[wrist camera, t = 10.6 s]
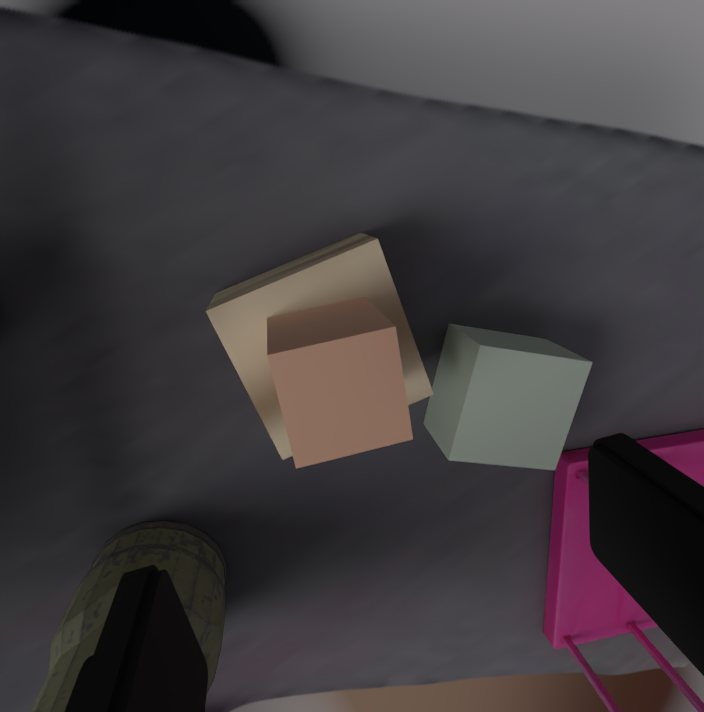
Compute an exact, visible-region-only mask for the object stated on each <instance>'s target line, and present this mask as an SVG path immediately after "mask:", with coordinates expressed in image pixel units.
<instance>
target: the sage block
mask: <svg viewBox="0 0 704 712" xmlns="http://www.w3.org/2000/svg"><path fill="white" fill-rule="evenodd" d="M592 363H593V362H591V361H589V360H587V359H585V358H583V357H581V356H579V355H577V354H575V353H573V352H571V351H569V350H567V349H565V348H563V347H561V346H559V345H557V344H555V343H553V342H551V341H549V340H547V339H543V338H537V337H531V336H524V335H518V334H512V333H505V332H499V331H493V330H487V329H480V328H474V327H468V326H461V325H455V324H448V328H447V332H446V336H445V340H444V344H443V348H442V352H441V356H440V360H439V364H438V368H437V371H436V375H435V379H434V383H433V387H432V391H433V395H431V396H430V399H429V403H428V407H427V411H426V415H425V419H424V423H423V424H424V426H425V427H426V428H427V430H428V431H429V433H430V434H431V436H432V437H433V439H434V440H435V442H436V443H437V444H438V446H439V447H440V449H441V450H442V452H443V453H444V455H445V456H446V458H447V459H448V460H450V461H461V462H471V463H482V464H492V465H503V466H514V467H524V468H535V469H545V470H555V469H556V467H557V464H558V461H559V458H560V455H561V452H562V449H563V446H564V443H565V441H566V438H567V435H568V432H569V429H570V426H571V423H572V420H573V418H574V415H575V412H576V409H577V406H578V403H579V400H580V397H581V395H582V392H583V389H584V386H585V383H586V380H587V377H588V374H589V372H590V369H591V366H592Z"/></svg>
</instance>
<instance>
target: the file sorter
mask: <svg viewBox="0 0 704 712" xmlns="http://www.w3.org/2000/svg"><path fill="white" fill-rule="evenodd" d="M636 442H638V443H639V444H641V445H642V446H644V447H645V448H647V449H648V450H650V451H651V452H653V453H654V454H656V455H657V456H659V457H660V458H661V459H663V460H664V461H666V462H667V463H669V464H670V465H672V466H673V467H675V468H676V469H678V470H679V471H681V472H682V473H684V474H685V475H687V476H688V477H690V478H691V479H693V480H694V481H696V482H697V483H699V484H700V485H702V486H703V487H704V429H703V430H697V431H691V432H685V433H679V434H673V435H666V436H660V437H654V438H648V439H642V440H636ZM592 448H593V447H592ZM589 449H591V448H585V449H579V450H572V451H566V452H561V455H560V458H559V461H558V464H557V467H556V469H555V476H554V491H553V506H552V519H551V533H550V547H549V561H548V573H547V586H546V602H545V614H544V627H543V633H544V634H545V636H546V637H547V639H548V640H549V642H550V643H551V645H552V646H553V648H554V649H559V648H564V647H567V649H568V650H569V652H570V653H571V654H572V656H573V657H574V659H575V660H576V662H577V663H578V665H579V666H580V668H581V669H582V671H583V672H584V674H585V675H586V677H587V678H588V679H589V681H590V682H591V684H592V686H593V687H594V689H595V690H596V692H597V693H598V694H599V696H600V698H601V699H602V701H603V702H604V704H605V705H606V706H607V708H608V710H609V711H610V712H621V710H620V709H619V707H618V706H617V704H616V703H615V701H614V700H613V699H612V697H611V696H610V694H609V693H608V691H607V690H606V688H605V687H604V686H603V684H602V683H601V681H600V680H599V678H598V677H597V675H596V674H595V673H594V671H593V670H592V668H591V667H590V666H589V664H588V663H587V661H586V660H585V658H584V657H583V656H582V654H581V653H580V651H579V650H578V649H577V647H576V646H575V645H577V644H582V643H586V642H590V641H595V640H599V639H603V638H608V637H613V636H617V635H622V634H626V633H631V632H632V633H633V634H634V636H635V637H636V638H637V639H638V640H639V642H640V643H641V644H642V645H643V646H644V648H645V649H646V650H647V651H648V652H649V654H650V655H651V656H652V657H653V658H654V660H655V661H656V662H657V663H658V664H659V666H660V667H661V668H662V669H663V670H664V671H665V672H666V674H667V675H668V676H669V677H670V678H671V680H672V681H673V682H674V683H675V685H676V686H677V687H678V688H679V689H680V691H681V692H682V693H683V694H684V695H685V696H686V698H687V699H688V700H689V701H690V702H691V704H692V705H693V706H694V707H695V708H696V709H697V711H698V712H704V703H703V702H702V701H701V700H700V698H699V697H698V696H697V695H696V694H695V693H694V692H693V690H692V689H691V688H690V687H689V686H688V685H687V684H686V682H685V681H684V680H683V679H682V678H681V677H680V676H679V674H678V673H677V672H676V671H675V670H674V669H673V668H672V666H671V665H670V664H669V662H668V661H667V660H666V659H665V658H664V657H663V656H662V655H661V653H660V652H659V651H658V650H657V649H656V648H655V647H654V645H653V644H652V643H651V642H650V641H649V640H648V639H647V637H646V636H645V635H644V634H643V633H642V631H641V630H644V629H649V628H653V627H658V625H657V624H656V623H655V622H654V621H653V620H652V619H651V617H650V616H649V615H648V614H647V613H646V612H645V611H644V610H643V609H642V608H641V606H640V605H639V604H638V603H637V602H636V601H635V600H634V599H633V598H632V597H631V595H630V594H629V593H628V592H627V591H626V590H625V589H624V588H623V587H622V586H621V584H620V583H619V582H618V581H617V580H616V579H615V578H614V577H613V576H612V575H611V574H610V572H609V571H608V570H607V569H606V568H605V567H604V566H603V565H602V564H601V563H600V561H599V560H598V559H597V558H596V556H595V555H594V553H593V551H592V549H591V546H590V534H589V482H588V451H589Z"/></svg>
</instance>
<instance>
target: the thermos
mask: <svg viewBox="0 0 704 712" xmlns="http://www.w3.org/2000/svg"><path fill="white" fill-rule="evenodd" d="M150 565H155V566H156V567H157V568H158V570H159V571H160V570H163V569H165V570H167V572H168V573H169V576H170V578H171V580H172V583H173V585H174V587H175V589H176V592H177V594H178V596H179V599H180V601H181V603H182V606H183V608H184V610H185V613H186V615H187V617H188V620H189V622H190V624H191V626H192V629H193V631H194V633H195V636H196V638H197V640H198V643H199V645H200V647H201V650H202V652H203V654H204V657H205V659H206V662H207V668H208V684H207V692H208V690H209V688H210V686H211V684H212V683H213V681H214V678H215V673H216V669H217V664H218V660H219V656H220V651H221V647H222V639H223V630H224V620H225V611H226V600H225V589H224V588H225V584H226V579H227V572H226V561H225V558H224V556H223V554H222V552H221V550H220V548H219V547H218V545H217V544H216V543H215V542H214V541H213V540H212V539H211V538H210V537H208V536H207V535H206V534H205V533H204V532H202V531H200V530H198V529H195V528H193V527H191V526H189V525H187V524H183V523H177V522H171V521H154V522H143V523H140V524H137V525H135V526H132V527H129V528H126V529H124V530H122V531H120V532H119V533H118V534H116V535H115V536H114V537H112V538H111V539H109V540H108V541H107V542H106V543H105V544H104V546H103V547H102V549H101V550H100V552H99V553H98V554H97V556H96V557H95V560H94V562H93V564H92V568H91V569H90V571H89V572H88V573H87V575H86V576H85V578H84V579H83V581H82V582H81V583H80V585H79V586H78V588H77V590H76V592H75V594H74V596H73V598H72V600H71V602H70V604H69V606H68V608H67V610H66V613H65V615H64V617H63V619H62V621H61V623H60V625H59V627H58V629H57V631H56V633H55V635H54V637H53V639H52V641H51V643H50V655H49V671H48V675H47V677H46V680H45V682H44V684H43V686H42V688H41V690H40V692H39V695H38V697H37V699H36V701H35V703H34V705H33V707H32V710H31V712H65V709H66V706H67V704H68V701H69V698H70V696H71V693H72V690H73V688H74V685H75V682H76V680H77V677H78V674H79V672H80V669H81V667H82V665H83V663H84V661H85V660H86V659H87V658H88V657H89V656H92V655H93V654H94V652H95V649H96V646H97V643H98V640H99V638H100V635H101V632H102V629H103V627H104V624H105V621H106V618H107V615H108V613H109V610H110V607H111V604H112V601H113V599H114V596H115V593H116V590H117V588H118V585H119V582H120V579H121V577H122V575H123V574H124V573H125V572H129V571H132V570H136V569H139V568H143V567H146V566H150ZM206 694H207V693H206Z"/></svg>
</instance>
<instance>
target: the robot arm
mask: <svg viewBox="0 0 704 712" xmlns="http://www.w3.org/2000/svg"><path fill="white" fill-rule="evenodd" d="M588 482H589V534H590V546H591V549H592V551H593V553H594V555H595V556H596V558H597V559H598V560H599V561H600V563H601V564H602V565H603V566H604V567H605V568H606V569H607V570H608V571H609V572H610V574H611V575H612V576H613V577H614V578H615V579H616V580H617V581H618V582H619V583H620V584H621V586H622V587H623V588H624V589H625V590H626V591H627V592H628V593H629V594H630V595H631V597H632V598H633V599H634V600H635V601H636V602H637V603H638V604H639V605H640V606H641V608H642V609H643V610H644V611H645V612H646V613H647V614H648V615H649V616H650V617H651V619H652V620H653V621H654V622H655V623H656V624H657V625H658V626H659V627H660V628H661V630H662V631H663V632H664V633H665V634H666V635H667V636H668V637H669V638H670V639H671V641H672V642H673V643H674V644H675V645H676V646H677V647H678V648H679V649H680V650H681V652H682V653H683V654H684V655H685V656H686V657H687V658H688V659H689V660H690V661H691V662H692V664H693V665H694V666H695V667H696V668H697V669H698V670H699V671H700V672H701V673H702V675H703V676H704V487H703V486H702V485H700V484H699V483H697V482H696V481H694V480H693V479H691V478H690V477H688V476H687V475H685V474H684V473H682V472H681V471H679V470H678V469H676V468H675V467H673V466H672V465H670V464H669V463H667V462H666V461H664V460H663V459H661V458H660V457H659V456H657V455H656V454H654V453H653V452H651V451H650V450H648V449H647V448H645V447H644V446H642V445H641V444H639V443H638V442H636V441H635V440H633V439H632V438H630V437H629V436H627V435H625V434H623V433H618V434H615V435H611V436H608V437H604V438H601V439H597V440H596V441H595V442H594V444H593V448H591V449H589V451H588ZM207 684H208V668H207V662H206V659H205V657H204V654H203V652H202V650H201V647H200V645H199V643H198V640H197V638H196V636H195V633H194V631H193V629H192V626H191V624H190V622H189V620H188V617H187V615H186V613H185V610H184V608H183V606H182V603H181V601H180V599H179V596H178V594H177V592H176V589H175V587H174V585H173V583H172V580H171V578H170V576H169V573H168V572H167V570H165V569H163V570H160V571H159V570H158V568H157V567H156V566H155V565H150V566H146V567H143V568H139V569H136V570H132V571H129V572H125V573H124V574H123V575H122V577H121V579H120V582H119V585H118V588H117V590H116V593H115V596H114V599H113V601H112V604H111V607H110V610H109V613H108V615H107V618H106V621H105V624H104V627H103V629H102V632H101V635H100V638H99V640H98V643H97V646H96V649H95V652H94V654H93V655H92V656H89V657H88V658H87V659H86V660H85V661H84V663H83V665H82V667H81V669H80V672H79V674H78V677H77V680H76V682H75V685H74V688H73V690H72V693H71V696H70V698H69V701H68V704H67V706H66V709H65V712H205V703H206V693H207Z"/></svg>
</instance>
